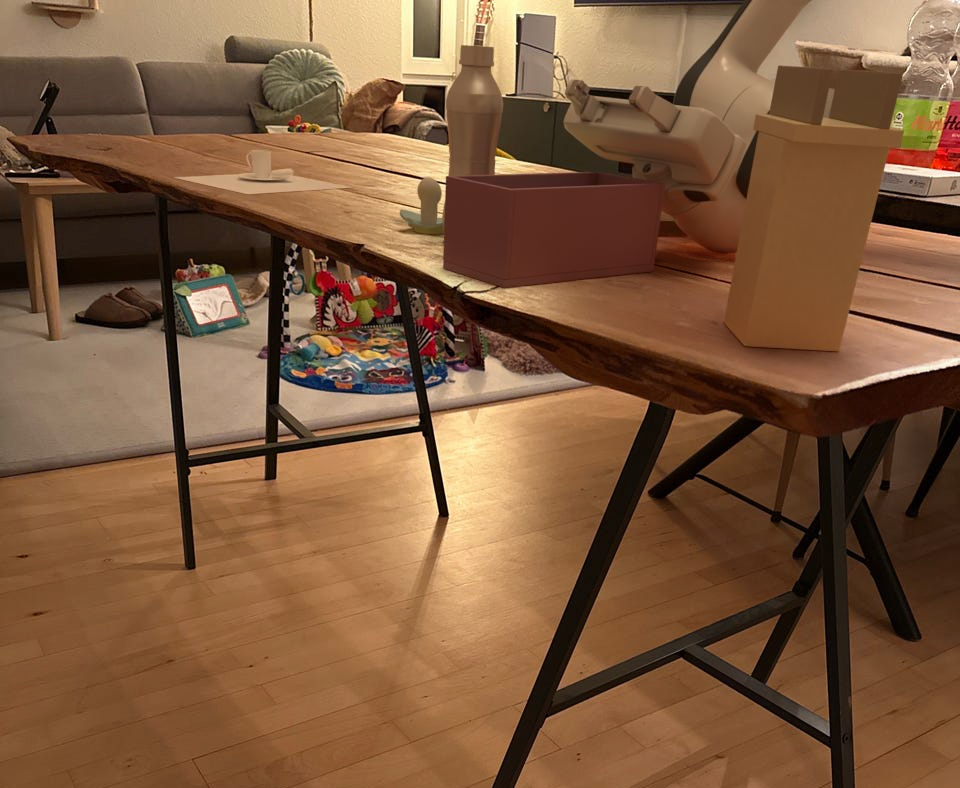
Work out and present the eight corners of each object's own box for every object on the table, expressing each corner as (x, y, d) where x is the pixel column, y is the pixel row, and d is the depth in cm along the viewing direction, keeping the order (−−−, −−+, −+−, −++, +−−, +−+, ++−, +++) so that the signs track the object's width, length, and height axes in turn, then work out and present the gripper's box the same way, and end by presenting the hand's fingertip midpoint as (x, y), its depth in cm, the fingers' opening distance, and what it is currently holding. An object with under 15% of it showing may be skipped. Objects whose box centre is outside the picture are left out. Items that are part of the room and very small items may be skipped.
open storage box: (589, 254, 112) (598, 171, 108) (653, 271, 106) (665, 183, 101) (442, 268, 101) (445, 175, 96) (503, 288, 94) (510, 189, 90)
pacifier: (410, 226, 123) (395, 232, 118) (411, 172, 120) (396, 175, 115) (465, 232, 122) (452, 238, 117) (468, 178, 119) (455, 181, 114)
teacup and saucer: (301, 182, 154) (300, 153, 151) (260, 184, 149) (258, 155, 146) (268, 175, 159) (267, 147, 156) (227, 177, 153) (225, 149, 151)
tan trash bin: (718, 317, 88) (764, 64, 78) (805, 322, 89) (862, 70, 78) (749, 352, 78) (807, 67, 68) (847, 358, 78) (919, 74, 68)
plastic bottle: (460, 250, 110) (468, 45, 100) (431, 239, 115) (436, 43, 105) (506, 247, 113) (519, 48, 103) (476, 237, 118) (485, 46, 108)
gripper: (621, 125, 114) (550, 53, 104) (759, 144, 100) (693, 63, 90) (596, 177, 115) (523, 111, 105) (729, 203, 102) (661, 129, 91)
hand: (603, 89), depth 97 cm, fingers open, 8 cm apart
